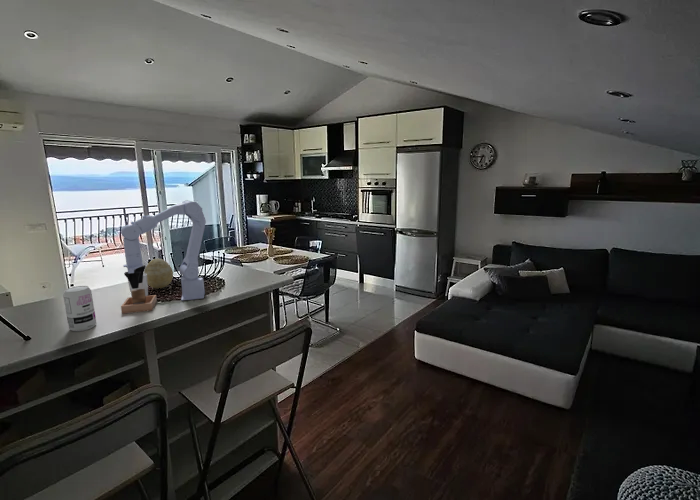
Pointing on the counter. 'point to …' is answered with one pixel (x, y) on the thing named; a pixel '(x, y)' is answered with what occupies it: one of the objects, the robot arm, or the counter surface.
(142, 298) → the tall brown plank
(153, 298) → the shallow square frame box
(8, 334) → the counter surface
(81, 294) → the supplement can
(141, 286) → the white cup
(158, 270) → the fossilized egg
